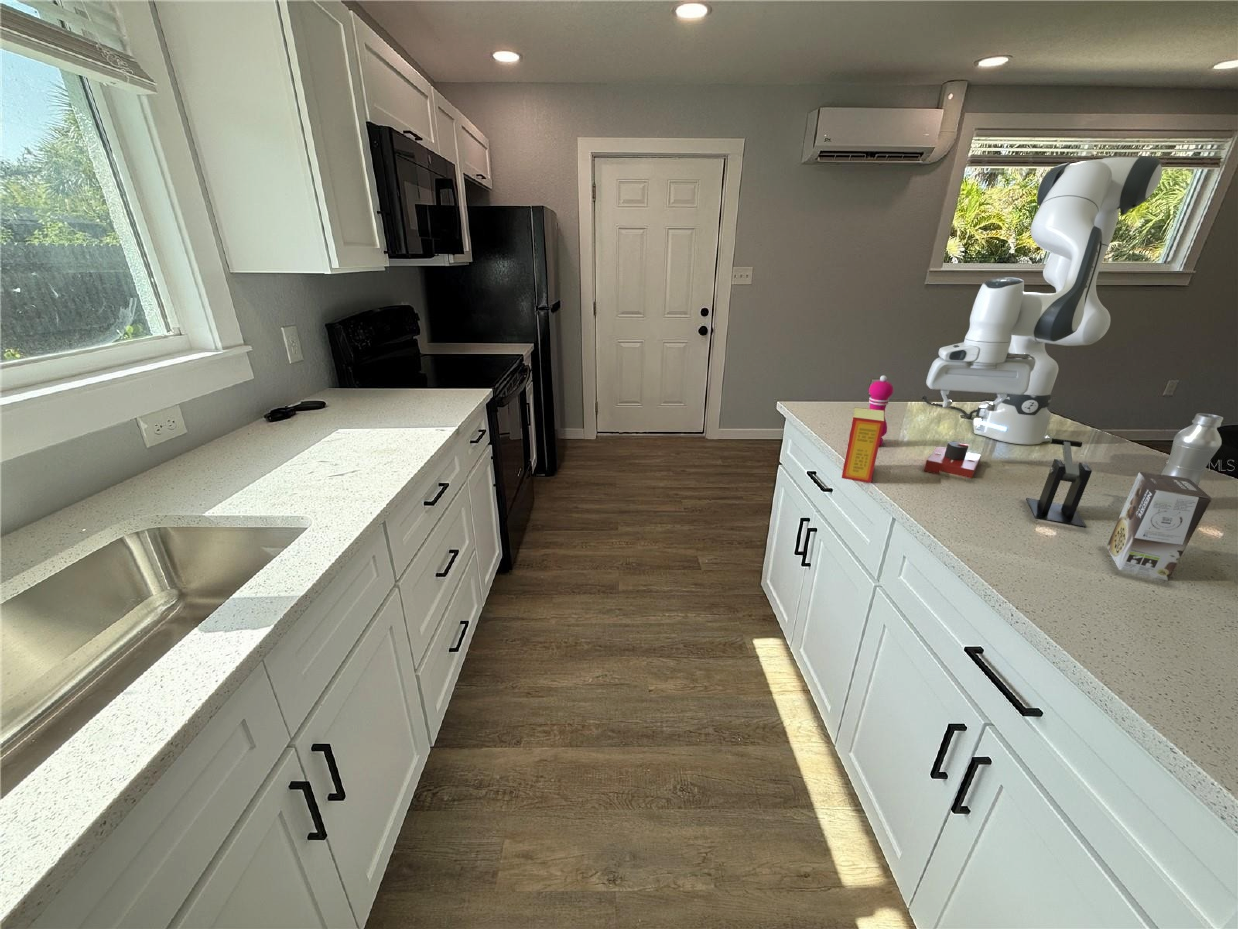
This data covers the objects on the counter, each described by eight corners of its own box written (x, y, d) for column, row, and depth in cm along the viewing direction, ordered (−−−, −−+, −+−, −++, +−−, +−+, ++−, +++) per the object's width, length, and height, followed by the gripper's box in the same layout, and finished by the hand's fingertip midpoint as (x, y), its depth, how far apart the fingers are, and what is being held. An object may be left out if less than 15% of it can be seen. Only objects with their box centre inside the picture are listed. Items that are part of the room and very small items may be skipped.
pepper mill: (887, 448, 139) (902, 378, 131) (859, 446, 141) (873, 377, 133) (879, 439, 146) (894, 373, 138) (854, 438, 147) (866, 372, 139)
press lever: (1048, 442, 106) (1053, 434, 104) (1078, 446, 104) (1083, 438, 102) (1051, 479, 100) (1056, 471, 98) (1083, 484, 97) (1089, 476, 96)
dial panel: (934, 456, 134) (937, 445, 132) (978, 465, 127) (981, 454, 126) (923, 470, 125) (926, 459, 123) (970, 481, 118) (974, 469, 117)
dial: (942, 457, 125) (946, 443, 123) (946, 452, 128) (950, 439, 126) (962, 461, 122) (966, 447, 120) (966, 457, 125) (970, 443, 123)
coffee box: (1168, 586, 81) (1214, 499, 74) (1116, 573, 84) (1155, 489, 78) (1151, 559, 88) (1191, 477, 82) (1103, 549, 91) (1138, 469, 85)
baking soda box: (843, 464, 129) (855, 405, 122) (871, 468, 126) (884, 409, 120) (841, 478, 121) (853, 416, 114) (870, 483, 118) (884, 419, 112)
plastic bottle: (1183, 512, 103) (1228, 422, 96) (1141, 499, 109) (1180, 413, 101) (1195, 506, 106) (1240, 417, 98) (1153, 493, 112) (1192, 409, 104)
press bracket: (1024, 502, 108) (1042, 453, 104) (1070, 510, 105) (1091, 459, 100) (1033, 522, 100) (1053, 469, 96) (1084, 531, 97) (1107, 477, 92)
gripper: (1033, 351, 114) (1015, 408, 119) (932, 347, 121) (919, 402, 126) (1043, 356, 108) (1024, 416, 114) (937, 352, 115) (924, 409, 121)
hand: (968, 409), depth 120 cm, fingers open, 8 cm apart
